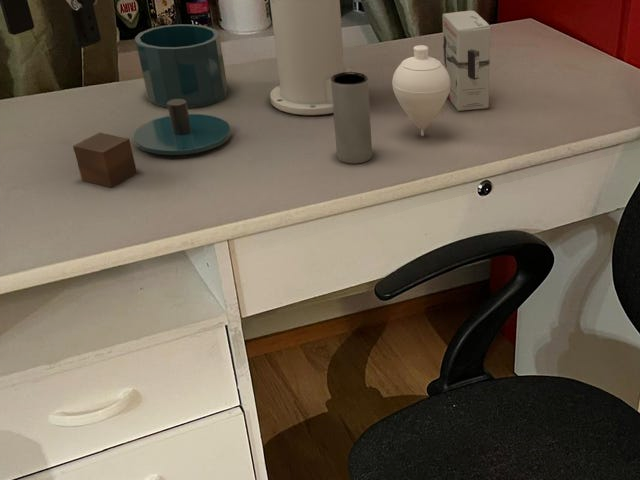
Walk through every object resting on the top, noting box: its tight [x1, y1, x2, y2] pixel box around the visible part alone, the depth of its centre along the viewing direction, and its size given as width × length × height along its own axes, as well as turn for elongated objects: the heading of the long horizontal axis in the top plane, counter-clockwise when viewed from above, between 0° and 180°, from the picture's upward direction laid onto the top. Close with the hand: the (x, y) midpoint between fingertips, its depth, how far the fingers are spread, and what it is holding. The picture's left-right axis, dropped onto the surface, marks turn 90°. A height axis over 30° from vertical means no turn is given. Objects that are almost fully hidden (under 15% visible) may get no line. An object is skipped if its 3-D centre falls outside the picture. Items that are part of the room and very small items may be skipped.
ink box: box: [442, 10, 491, 112], centre depth 126 cm, size 8×5×12 cm, turn 17°
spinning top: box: [392, 44, 451, 137], centre depth 114 cm, size 8×8×12 cm
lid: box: [132, 99, 232, 156], centre depth 113 cm, size 12×12×5 cm
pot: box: [134, 23, 228, 109], centre depth 126 cm, size 11×11×8 cm
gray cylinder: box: [331, 71, 373, 165], centre depth 109 cm, size 4×4×10 cm
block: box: [72, 132, 138, 189], centre depth 104 cm, size 4×4×4 cm
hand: (55, 37), depth 97 cm, fingers open, 9 cm apart
